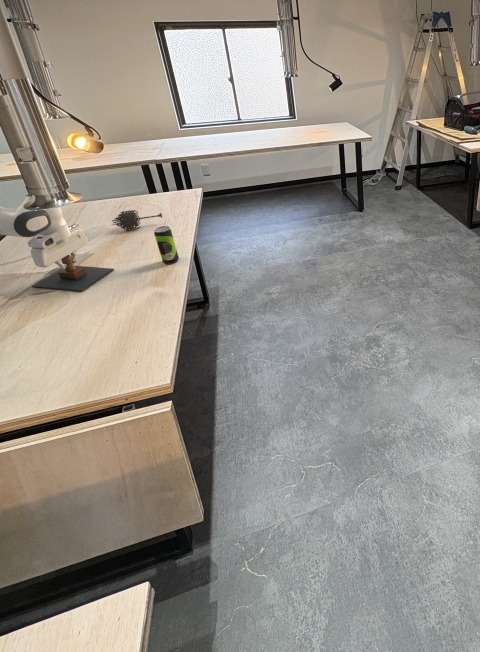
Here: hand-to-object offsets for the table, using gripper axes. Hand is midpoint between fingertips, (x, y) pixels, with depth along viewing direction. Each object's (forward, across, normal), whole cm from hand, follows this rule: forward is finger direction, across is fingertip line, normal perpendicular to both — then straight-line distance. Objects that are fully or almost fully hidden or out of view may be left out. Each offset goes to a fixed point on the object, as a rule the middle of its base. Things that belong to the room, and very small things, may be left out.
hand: (69, 265), depth 159 cm
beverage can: (+6, -18, +30) cm, 35 cm away
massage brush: (+6, -47, -8) cm, 48 cm away
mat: (+6, 0, 0) cm, 6 cm away
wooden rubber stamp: (+5, 0, 0) cm, 5 cm away
